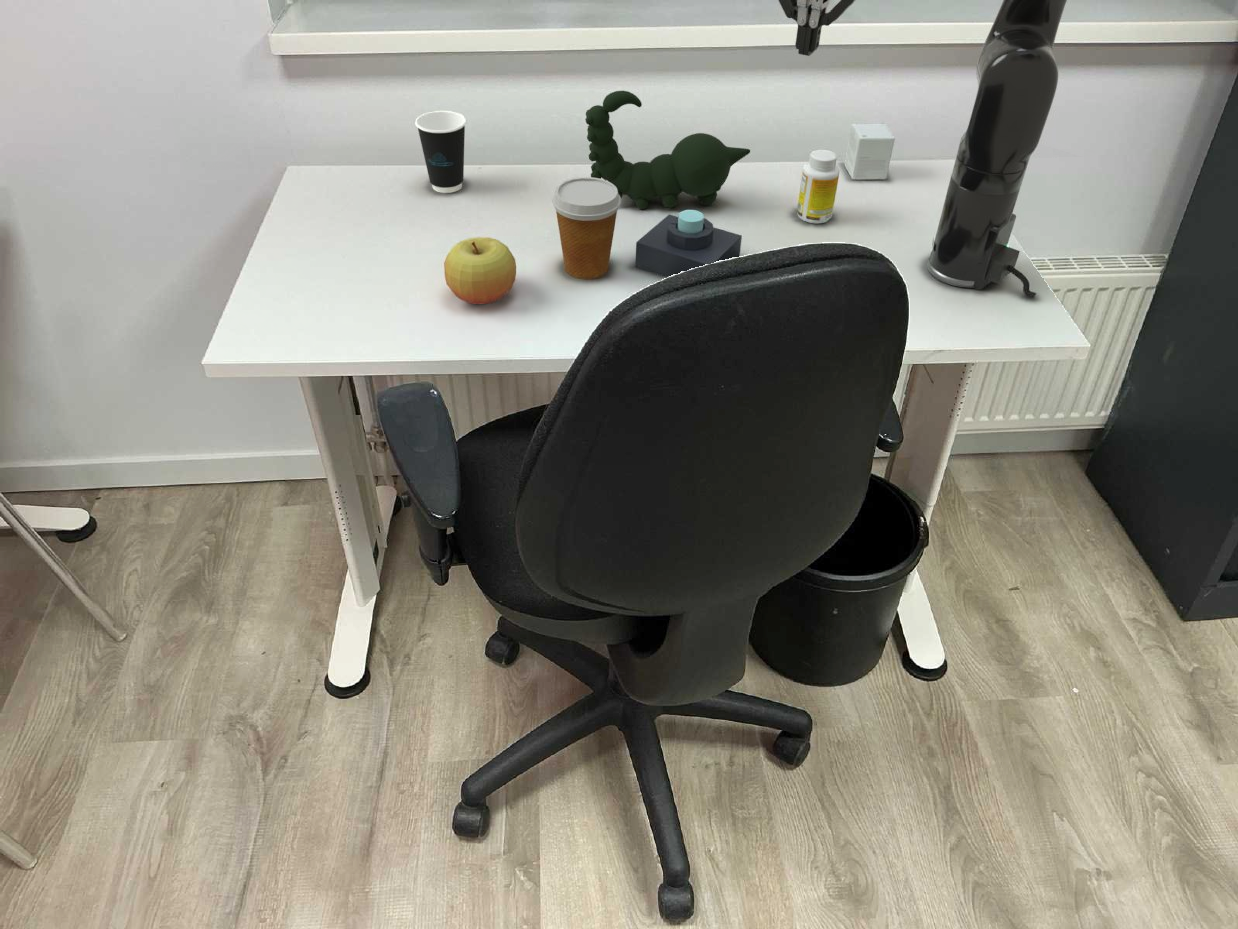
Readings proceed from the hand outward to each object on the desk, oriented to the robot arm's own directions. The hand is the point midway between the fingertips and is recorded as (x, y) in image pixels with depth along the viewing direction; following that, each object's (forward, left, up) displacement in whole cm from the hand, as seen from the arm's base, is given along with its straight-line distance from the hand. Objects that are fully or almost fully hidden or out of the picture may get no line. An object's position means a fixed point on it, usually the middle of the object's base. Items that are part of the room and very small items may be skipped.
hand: (806, 53), depth 135 cm
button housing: (+5, +17, -27) cm, 32 cm away
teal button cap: (+5, +17, -21) cm, 28 cm away
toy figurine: (+19, +4, -27) cm, 34 cm away
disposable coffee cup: (+15, +28, -27) cm, 42 cm away
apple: (+21, +43, -27) cm, 55 cm away
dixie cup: (+49, +24, -27) cm, 61 cm away
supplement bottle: (-1, -8, -27) cm, 28 cm away
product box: (+1, -28, -27) cm, 39 cm away
